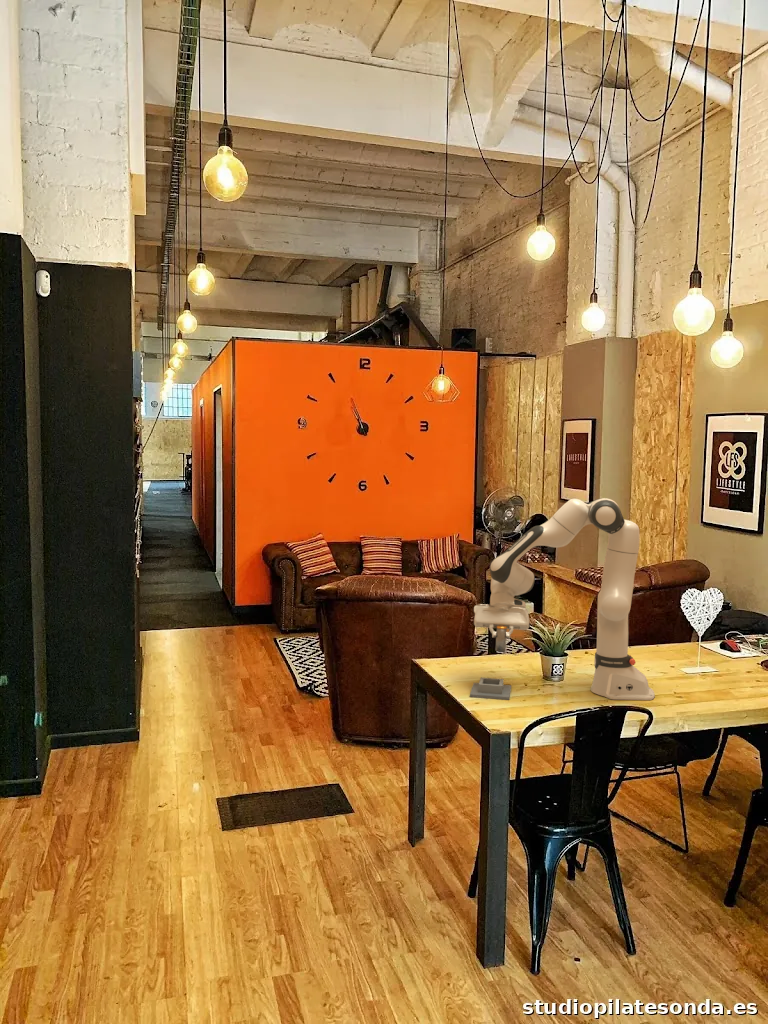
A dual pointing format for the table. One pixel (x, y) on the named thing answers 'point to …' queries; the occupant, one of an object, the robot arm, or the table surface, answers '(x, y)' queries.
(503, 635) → the pivot pin
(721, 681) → the table surface
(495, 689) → the grey square socket base
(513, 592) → the robot arm
